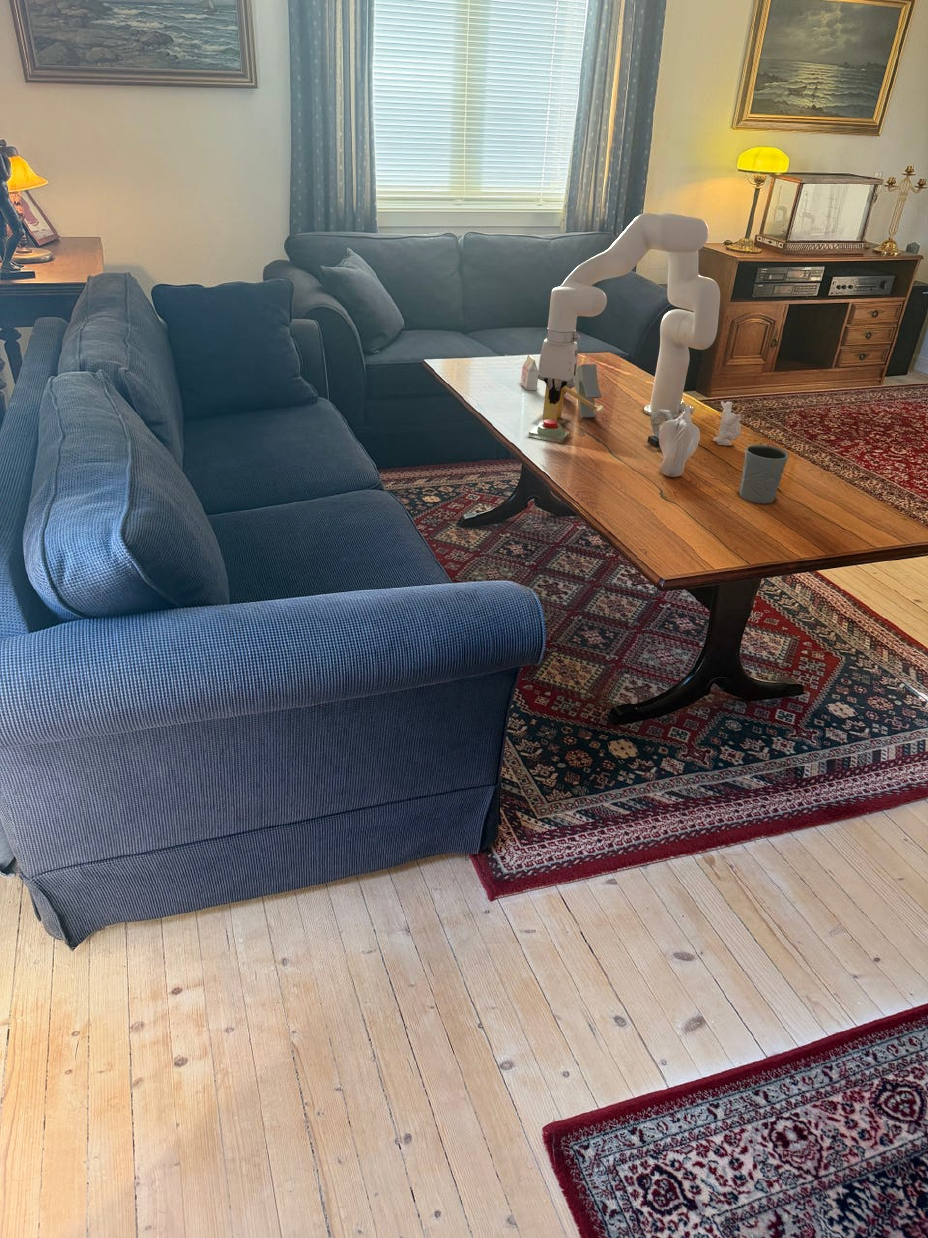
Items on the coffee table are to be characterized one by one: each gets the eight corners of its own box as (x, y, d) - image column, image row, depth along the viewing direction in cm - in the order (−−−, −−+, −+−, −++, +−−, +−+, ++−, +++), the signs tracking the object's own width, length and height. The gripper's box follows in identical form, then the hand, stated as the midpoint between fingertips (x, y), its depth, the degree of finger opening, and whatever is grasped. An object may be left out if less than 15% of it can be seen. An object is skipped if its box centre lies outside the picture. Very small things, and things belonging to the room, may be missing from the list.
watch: (658, 442, 243) (665, 405, 237) (674, 452, 237) (682, 414, 231) (642, 444, 241) (649, 406, 235) (658, 453, 235) (665, 415, 229)
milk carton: (531, 383, 287) (534, 354, 282) (536, 389, 282) (539, 359, 277) (520, 384, 287) (523, 354, 281) (526, 389, 281) (529, 359, 276)
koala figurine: (705, 439, 247) (713, 399, 241) (723, 437, 250) (732, 398, 244) (723, 449, 241) (732, 408, 235) (741, 447, 243) (751, 407, 237)
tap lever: (601, 412, 248) (605, 405, 247) (595, 416, 244) (599, 410, 242) (553, 381, 250) (556, 374, 248) (547, 385, 246) (550, 378, 244)
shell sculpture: (670, 482, 216) (683, 414, 207) (650, 471, 222) (662, 404, 213) (694, 478, 220) (709, 411, 210) (674, 467, 226) (687, 402, 216)
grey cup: (770, 508, 206) (782, 462, 200) (730, 497, 210) (741, 452, 204) (780, 495, 213) (792, 450, 207) (741, 485, 218) (752, 441, 211)
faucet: (549, 430, 277) (585, 418, 248) (546, 378, 275) (583, 360, 246) (566, 429, 279) (604, 417, 250) (564, 378, 277) (602, 360, 248)
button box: (568, 437, 242) (570, 425, 240) (561, 444, 236) (562, 432, 235) (536, 431, 245) (537, 419, 243) (528, 437, 240) (529, 425, 238)
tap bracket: (568, 420, 255) (574, 375, 248) (559, 428, 248) (564, 382, 241) (543, 415, 258) (548, 370, 251) (534, 423, 251) (538, 377, 244)
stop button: (558, 426, 240) (559, 420, 239) (554, 430, 237) (555, 424, 236) (545, 424, 241) (546, 418, 240) (541, 427, 238) (541, 421, 237)
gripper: (591, 337, 227) (582, 403, 236) (539, 329, 231) (533, 394, 241) (583, 343, 221) (574, 410, 230) (530, 334, 225) (524, 401, 235)
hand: (553, 402), depth 236 cm, fingers closed
